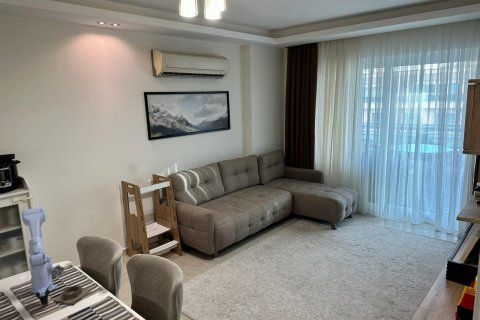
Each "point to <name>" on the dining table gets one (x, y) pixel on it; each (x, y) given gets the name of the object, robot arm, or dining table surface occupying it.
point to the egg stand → (72, 295)
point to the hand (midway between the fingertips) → (45, 301)
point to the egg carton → (57, 271)
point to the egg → (48, 301)
